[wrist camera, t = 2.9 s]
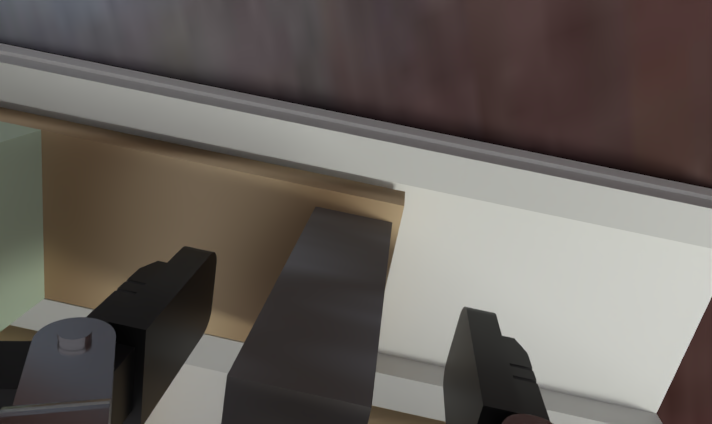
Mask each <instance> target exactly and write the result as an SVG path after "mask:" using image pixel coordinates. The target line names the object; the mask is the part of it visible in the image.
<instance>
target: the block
mask: <svg viewBox="0 0 712 424" xmlns="http://www.w3.org/2000/svg"><path fill="white" fill-rule="evenodd" d="M44 298H45V292H44V244H43V196H42V148H41V130H40V129H35V128H30V127H25V126H21V125H16V124H11V123H6V122H1V121H0V332H1V331H2V330H3V329H5V328H6V327H7V326H9V325H10V324H11V323H13V322H14V321H15V320H17V319H18V318H19V317H20V316H22V315H23V314H24V313H26V312H27V311H28V310H30V309H31V308H32V307H34V306H35V305H36V304H38V303H39V302H40V301H41V300H43V299H44Z"/></svg>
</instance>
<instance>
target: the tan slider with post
mask: <svg viewBox="0 0 712 424" xmlns="http://www.w3.org/2000/svg"><path fill="white" fill-rule="evenodd" d="M0 121H1V122H6V123H11V124H16V125H21V126H25V127H30V128H35V129H40V130H41V148H42V196H43V244H44V292H45V298H46V299H51V300H56V301H60V302H65V303H69V304H74V305H78V306H83V307H87V308H92V309H95V308H96V307H98V306H99V305H100V304H101V303H102V302H103V301H104V300H105V299H106V298H107V297H108V296H110V295H111V294H112V293H113V292H114V291H117V288H118V287H119V286H120V285H122V284H123V283H124V282H127V279H128V278H129V277H130V276H131V275H132V274H134V273H135V272H136V271H137V270H138V269H139V268H141V267H144V266H146V265H149V264H151V263H153V262H156V261H162V262H168V261H169V260H170V259H171V258H172V257H173V256H174V255H175V254H176V253H177V252H178V251H179V250H180V249H181V248H182V247H184V246H188V247H193V248H197V249H202V250H207V251H211V252H215V253H216V256H217V264H216V274H215V284H214V293H213V303H212V311H211V316H210V320H209V323H208V326H207V328H206V331H205V334H210V335H214V336H219V337H224V338H228V339H233V340H237V341H242V342H244V344H243V346H242V348H241V350H240V352H239V354H238V355H237V357H236V359H235V361H234V363H233V365H232V367H231V369H230V371H229V373H228V374H227V380H226V388H225V396H224V404H223V412H222V421H221V424H368V420H369V416H370V412H371V408H372V399H373V390H374V382H375V373H376V364H377V355H378V346H379V337H380V328H381V319H382V311H383V302H384V293H385V288H386V283H387V279H388V275H389V270H390V266H391V262H392V257H393V253H394V249H395V244H396V240H397V236H398V231H399V227H400V223H401V218H402V214H403V209H404V203H405V191H400V190H395V189H390V188H386V187H381V186H376V185H371V184H367V183H362V182H357V181H352V180H347V179H343V178H338V177H333V176H328V175H323V174H319V173H314V172H309V171H304V170H300V169H295V168H290V167H285V166H280V165H276V164H271V163H266V162H261V161H256V160H252V159H247V158H242V157H237V156H232V155H228V154H223V153H218V152H213V151H209V150H204V149H199V148H194V147H189V146H185V145H180V144H175V143H170V142H165V141H161V140H156V139H151V138H146V137H142V136H137V135H132V134H127V133H122V132H118V131H113V130H108V129H103V128H98V127H94V126H89V125H84V124H79V123H74V122H70V121H65V120H60V119H55V118H51V117H46V116H41V115H36V114H31V113H27V112H22V111H17V110H12V109H7V108H3V107H0Z"/></svg>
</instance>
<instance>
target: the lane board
mask: <svg viewBox="0 0 712 424" xmlns="http://www.w3.org/2000/svg"><path fill="white" fill-rule="evenodd" d="M0 107H3V108H7V109H12V110H17V111H22V112H27V113H31V114H36V115H41V116H46V117H51V118H55V119H60V120H65V121H70V122H74V123H79V124H84V125H89V126H94V127H98V128H103V129H108V130H113V131H118V132H122V133H127V134H132V135H137V136H142V137H146V138H151V139H156V140H161V141H165V142H170V143H175V144H180V145H185V146H189V147H194V148H199V149H204V150H209V151H213V152H218V153H223V154H228V155H232V156H237V157H242V158H247V159H252V160H256V161H261V162H266V163H271V164H276V165H280V166H285V167H290V168H295V169H300V170H304V171H309V172H314V173H319V174H323V175H328V176H333V177H338V178H343V179H347V180H352V181H357V182H362V183H367V184H371V185H376V186H381V187H386V188H390V189H395V190H400V191H405V203H404V209H403V214H402V218H401V223H400V227H399V231H398V236H397V240H396V244H395V249H394V253H393V257H392V262H391V266H390V270H389V275H388V279H387V283H386V288H385V293H384V302H383V311H382V319H381V328H380V337H379V346H378V355H377V364H376V373H375V382H374V390H373V399H372V408H371V412H370V416H369V420H368V424H446V421H445V408H444V394H443V377H444V370H445V365H446V361H447V357H448V354H449V350H450V347H451V344H452V340H453V337H454V333H455V330H456V326H457V323H458V320H459V316H460V313H461V311H462V309H463V307H470V308H474V309H479V310H483V311H488V312H493V313H495V314H496V316H497V319H498V323H499V327H500V331H501V334H502V336H506V337H511V338H515V340H516V341H517V342H518V343H519V344H520V345H521V346H522V347H523V349H524V350H525V351H526V352H527V353H528V356H529V359H530V362H531V365H532V371H534V374H535V377H536V380H537V381H536V383H537V384H538V386H539V389H540V392H541V395H542V398H543V401H544V404H545V407H546V410H547V413H548V416H549V419H550V422H551V423H553V424H662V422H661V420H660V419H659V417H658V415H657V414H656V413H657V411H658V409H659V407H660V405H661V403H662V400H663V398H664V396H665V394H666V392H667V390H668V388H669V386H670V384H671V381H672V379H673V377H674V375H675V373H676V371H677V369H678V367H679V365H680V362H681V360H682V358H683V356H684V354H685V352H686V350H687V348H688V346H689V343H690V341H691V339H692V337H693V335H694V333H695V331H696V329H697V327H698V325H699V322H700V320H701V318H702V316H703V314H704V312H705V310H706V308H707V306H708V303H709V301H710V299H711V297H712V189H710V188H705V187H700V186H695V185H690V184H685V183H681V182H676V181H671V180H666V179H661V178H656V177H651V176H646V175H642V174H637V173H632V172H627V171H622V170H617V169H612V168H607V167H602V166H598V165H593V164H588V163H583V162H578V161H573V160H568V159H563V158H559V157H554V156H549V155H544V154H539V153H534V152H529V151H524V150H520V149H515V148H510V147H505V146H500V145H495V144H490V143H485V142H480V141H476V140H471V139H466V138H461V137H456V136H451V135H446V134H441V133H437V132H432V131H427V130H422V129H417V128H412V127H407V126H402V125H397V124H393V123H388V122H383V121H378V120H373V119H368V118H363V117H358V116H354V115H349V114H344V113H339V112H334V111H329V110H324V109H319V108H314V107H310V106H305V105H300V104H295V103H290V102H285V101H280V100H275V99H271V98H266V97H261V96H256V95H251V94H246V93H241V92H236V91H231V90H227V89H222V88H217V87H212V86H207V85H202V84H197V83H192V82H188V81H183V80H178V79H173V78H168V77H163V76H158V75H153V74H148V73H144V72H139V71H134V70H129V69H124V68H119V67H114V66H109V65H105V64H100V63H95V62H90V61H85V60H80V59H75V58H70V57H66V56H61V55H56V54H51V53H46V52H41V51H36V50H31V49H26V48H22V47H17V46H12V45H7V44H2V43H0ZM93 310H94V309H92V308H87V307H83V306H78V305H74V304H69V303H65V302H60V301H56V300H51V299H46V298H44V299H43V300H41V301H40V302H39V303H38V304H36V305H35V306H34V307H32V308H31V309H30V310H28V311H27V312H26V313H24V314H23V315H22V316H20V317H19V318H18V319H17V320H15V321H14V322H13V323H11V324H10V325H9V326H7V327H6V328H5V329H3V330H2V331H1V332H0V341H32V339H33V336H34V335H35V334H36V332H38V331H39V330H40V329H41V328H43V327H44V326H46V325H48V324H50V323H52V322H55V321H58V320H62V319H67V318H75V317H87V316H88V315H89V314H90V313H91V312H92V311H93ZM243 344H244V342H242V341H237V340H233V339H228V338H224V337H219V336H214V335H210V334H205V333H204V334H203V336H202V338H201V339H200V341H199V342H198V344H197V345H196V347H195V348H194V350H193V351H192V353H191V354H190V356H189V357H188V359H187V360H186V362H185V363H184V365H183V366H182V368H181V369H180V371H179V372H178V374H177V375H176V377H175V378H174V380H173V381H172V383H171V384H170V386H169V387H168V389H167V390H166V392H165V393H164V395H163V396H162V398H161V399H160V401H159V402H158V404H157V405H156V407H155V408H154V410H153V411H152V413H151V414H150V416H149V417H148V419H147V420H146V422H145V423H144V424H221V421H222V412H223V404H224V396H225V388H226V380H227V374H228V373H229V371H230V369H231V367H232V365H233V363H234V361H235V359H236V357H237V355H238V354H239V352H240V350H241V348H242V346H243Z"/></svg>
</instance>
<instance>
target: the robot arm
mask: <svg viewBox="0 0 712 424" xmlns="http://www.w3.org/2000/svg"><path fill="white" fill-rule="evenodd" d="M216 264H217V256H216V253H215V252H211V251H207V250H202V249H197V248H193V247H188V246H184V247H182V248H181V249H180V250H179V251H178V252H177V253H176V254H175V255H174V256H173V257H172V258H171V259H170V260H169V261H168V262H162V261H156V262H153V263H151V264H149V265H146V266H144V267H141V268H139V269H138V270H137V271H136V272H135V273H134V274H132V275H131V276H130V277H129V278H128V279H127V282H124V283H123V284H122V285H120V286H119V287H118V288H117V291H114V292H113V293H112V294H111V295H110V296H108V297H107V298H106V299H105V300H104V301H103V302H102V303H101V304H100V305H99V306H98V307H96V308H95V309H94V310H93V311H92V312H91V313H90V314H89V315H88V316H87V317H75V318H67V319H62V320H58V321H55V322H52V323H50V324H48V325H46V326H44V327H43V328H41V329H40V330H39V331H38V332H36V334H35V335H34V336H33V339H32V341H0V424H144V423H145V422H146V420H147V419H148V417H149V416H150V414H151V413H152V411H153V410H154V408H155V407H156V405H157V404H158V402H159V401H160V399H161V398H162V396H163V395H164V393H165V392H166V390H167V389H168V387H169V386H170V384H171V383H172V381H173V380H174V378H175V377H176V375H177V374H178V372H179V371H180V369H181V368H182V366H183V365H184V363H185V362H186V360H187V359H188V357H189V356H190V354H191V353H192V351H193V350H194V348H195V347H196V345H197V344H198V342H199V341H200V339H201V338H202V336H203V334H204V333H205V331H206V328H207V326H208V323H209V320H210V316H211V311H212V303H213V293H214V284H215V274H216ZM536 381H537V380H536V377H535V374H534V371H532V365H531V362H530V359H529V356H528V353H527V352H526V351H525V350H524V349H523V347H522V346H521V345H520V344H519V343H518V342H517V341H516V340H515V338H511V337H506V336H502V334H501V331H500V327H499V323H498V319H497V316H496V314H495V313H493V312H488V311H483V310H479V309H474V308H470V307H463V309H462V311H461V313H460V316H459V320H458V323H457V326H456V330H455V333H454V337H453V340H452V344H451V347H450V350H449V354H448V357H447V361H446V365H445V370H444V377H443V394H444V408H445V421H446V424H553V423H551V422H550V419H549V416H548V413H547V410H546V407H545V404H544V401H543V398H542V395H541V392H540V389H539V386H538V384H537V383H536Z"/></svg>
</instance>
